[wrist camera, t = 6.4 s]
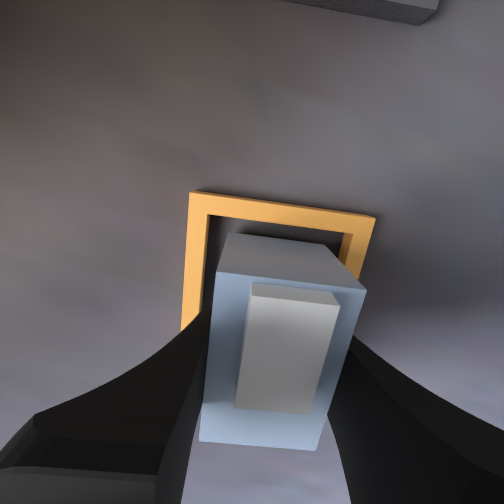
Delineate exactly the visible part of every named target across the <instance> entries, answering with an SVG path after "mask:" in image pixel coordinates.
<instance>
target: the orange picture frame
mask: <svg viewBox="0 0 504 504" xmlns="http://www.w3.org/2000/svg"><path fill="white" fill-rule="evenodd" d="M210 214H211V215H219V216H226V217H234V218H241V219H248V220H256V221H263V222H270V223H278V224H285V225H292V226H300V227H307V228H315V229H322V230H329V231H337V232H344V236H343V239H342V243H341V247H340V251H339V255H338V260H339V261H340V262H341V263H342V264H343V265H344V266H345V267H346V268H347V269H348V270H349V271H350V272H351V274H352V275H353V276H354V277H355V278H356V279H357V280H358V278H359V275H360V271H361V268H362V265H363V261H364V258H365V254H366V251H367V247H368V244H369V241H370V237H371V234H372V230H373V227H374V223H375V220H376V218H373V217H371V216H368V215H364V214H357V213H350V212H343V211H336V210H329V209H322V208H315V207H308V206H300V205H293V204H286V203H279V202H272V201H265V200H258V199H251V198H244V197H236V196H229V195H222V194H215V193H208V192H201V191H192V192H190V196H189V211H188V227H187V243H186V258H185V274H184V290H183V305H182V321H181V331H182V330H183V329H184V328H185V327H186V326H187V325H188V324H189V323H190V322H191V321H192V320H193V319H194V318H195V317H196V316H197V315H198V313H199V312H200V311H201V310H202V299H203V287H204V276H205V265H206V254H207V243H208V232H209V221H210Z"/></svg>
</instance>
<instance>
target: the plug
mask: <svg viewBox="0 0 504 504" xmlns="http://www.w3.org/2000/svg"><path fill="white" fill-rule="evenodd" d="M366 292H367V290H366V288H365V287H364V286H363V285H362V284H361V283H360V282H359V281H358V280H357V279H356V278H355V277H354V276H353V275H352V274H351V272H350V271H349V270H348V269H347V268H346V267H345V266H344V265H343V264H342V263H341V262H340V261H339V260H338V259H337V258H336V256H335V255H334V254H333V253H332V252H331V251H330V250H329V249H328V248H327V247H326V246H325V245H323V244H316V243H308V242H301V241H293V240H286V239H278V238H270V237H263V236H255V235H248V234H240V233H233V232H228V234H227V237H226V241H225V244H224V247H223V251H222V254H221V257H220V261H219V264H218V267H217V271H216V279H215V288H214V298H213V308H212V317H211V327H210V337H209V346H208V356H207V366H206V376H205V385H204V395H203V405H202V414H201V424H200V434H199V441H205V442H217V443H229V444H241V445H253V446H265V447H277V448H289V449H300V450H312V451H315V450H316V447H317V444H318V441H319V438H320V435H321V432H322V429H323V426H324V422H325V419H326V416H327V413H328V410H329V407H330V404H331V401H332V398H333V395H334V391H335V388H336V385H337V382H338V379H339V376H340V373H341V370H342V367H343V363H344V360H345V357H346V354H347V351H348V348H349V345H350V342H351V339H352V336H353V332H354V329H355V326H356V323H357V320H358V317H359V314H360V311H361V308H362V305H363V301H364V298H365V295H366Z"/></svg>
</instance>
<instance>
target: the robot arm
mask: <svg viewBox="0 0 504 504" xmlns="http://www.w3.org/2000/svg"><path fill="white" fill-rule="evenodd" d="M211 317H212V308H209V307H204V308H203V309H202V310H201V311H200V312H199V313H198V315H197V316H196V317H195V318H194V319H193V320H192V321H191V322H190V323H189V324H188V325H187V326H186V327H185V328H184V329H183V330H182V331H181V332H180V333H179V334H178V335H177V336H176V337H175V338H173V339H172V340H171V341H170V342H169V343H168V344H167V345H165V346H164V347H163V348H162V349H160V350H159V351H158V352H156V353H155V354H154V355H152V356H151V357H149V358H148V359H147V360H145V361H144V362H142V363H141V364H139V365H137V366H136V367H134V368H132V369H131V370H129V371H127V372H126V373H124V374H122V375H121V376H119V377H117V378H115V379H113V380H111V381H110V382H108V383H106V384H104V385H102V386H100V387H98V388H96V389H93V390H91V391H89V392H87V393H85V394H83V395H81V396H78V397H76V398H74V399H71V400H69V401H66V402H64V403H62V404H59V405H57V406H54V407H52V408H49V409H47V410H45V411H42V412H39V413H37V414H35V415H34V416H33V417H32V418H31V419H30V420H29V421H28V422H27V423H26V424H25V425H24V426H23V427H22V428H21V429H20V430H19V431H18V432H17V433H16V434H15V435H14V436H13V437H12V438H11V439H10V441H9V442H8V443H7V444H6V445H5V446H4V447H3V449H2V450H1V451H0V504H181V499H182V494H183V488H184V483H185V477H186V472H187V467H188V461H189V456H190V451H191V446H192V440H193V436H194V432H195V428H196V424H197V420H198V416H199V413H200V409H201V406H202V402H203V395H204V385H205V376H206V366H207V356H208V346H209V337H210V327H211ZM327 416H328V419H329V422H330V424H331V427H332V430H333V433H334V436H335V439H336V443H337V446H338V449H339V453H340V457H341V461H342V465H343V469H344V474H345V478H346V482H347V486H348V491H349V495H350V500H351V504H504V431H503V430H501V429H499V428H497V427H495V426H493V425H491V424H489V423H487V422H485V421H483V420H481V419H479V418H477V417H475V416H473V415H471V414H469V413H468V412H466V411H464V410H462V409H460V408H458V407H457V406H455V405H453V404H451V403H449V402H448V401H446V400H444V399H442V398H441V397H439V396H437V395H436V394H434V393H432V392H431V391H429V390H427V389H426V388H424V387H423V386H421V385H419V384H418V383H416V382H415V381H413V380H412V379H410V378H409V377H407V376H406V375H404V374H403V373H401V372H400V371H398V370H397V369H396V368H394V367H393V366H392V365H390V364H389V363H387V362H386V361H385V360H383V359H382V358H381V357H380V356H378V355H377V354H376V353H374V352H373V351H372V350H371V349H369V348H368V347H367V346H366V345H364V344H363V343H362V342H361V341H359V340H358V339H357V338H356V337H355V336H352V339H351V342H350V345H349V348H348V351H347V354H346V357H345V360H344V363H343V367H342V370H341V373H340V376H339V379H338V382H337V385H336V388H335V391H334V395H333V398H332V401H331V404H330V407H329V410H328V413H327Z"/></svg>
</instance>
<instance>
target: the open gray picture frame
mask: <svg viewBox="0 0 504 504" xmlns="http://www.w3.org/2000/svg"><path fill="white" fill-rule="evenodd" d="M285 1H290V2H295V3H301V4H306V5H311V6H317V7H322V8H327V9H333V10H338V11H343V12H349V13H354V14H359V15H365V16H370V17H375V18H381V19H386V20H391V21H397V22H402V23H407V24H413V25H420V24H421V23H422V22H423V21H424V20H425V19H427V18H428V17H429V16H430V15H431V14H433V13H434V12H435V11H436V10H437V7H438V3H439V0H285Z"/></svg>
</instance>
